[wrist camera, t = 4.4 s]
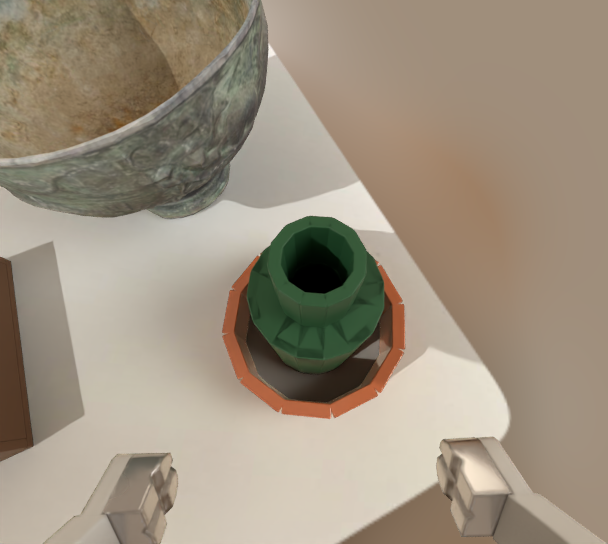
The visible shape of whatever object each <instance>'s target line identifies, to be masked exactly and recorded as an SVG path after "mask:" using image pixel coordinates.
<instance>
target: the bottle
mask: <svg viewBox="0 0 608 544" xmlns="http://www.w3.org/2000/svg"><path fill="white" fill-rule="evenodd" d="M247 301H248V305H249V309H250V313H251V317H252V321H253V323H254V324H255V326H256V327H257V328H258V330H259V331H260V332H261V333H262V335H263V336H264V337H265V339H266V340H267V341H268V342H269V344H270V345H271V346H272V348H273V349H274V350H275V351H276V353H277V354H278V355H279V357H280V358H281V359H282V360H283V362H284V363H285V364H286V365H288V366H290V367H291V368H293V369H295V370H297V371H299V372H302V373H307V374H321V373H325V372H328V371H331V370H333V369H336V368H337V367H338V366H339V365H341V364H342V363H343V362H344V361H345V360H346V359H347V358H348V357H349V356H350V355H351V354H352V353H353V352H354V351H355V350H356V349H358V348H359V347H360V346H361V345H362V344H363V343H364V342H365V341H366V340H367V339H368V338H369V337H370V336H371V335H372V334H373V332H374V330H375V328H376V326H377V324H378V321H379V319H380V317H381V315H382V312H383V310H384V280H383V278H382V275H381V273H380V271H379V269H378V266H377V264H376V262H375V259H374V258H373V257H372V256H371V255H370V254H369V253H368V252H367V251H366V249H365V247H364V245H363V243H362V242H361V240H360V238H359V237H358V235H357V233H356V232H355V231H354V230H353V229H352V228H350V227H349V226H347V225H345V224H343V223H342V222H340V221H338V220H337V219H335V218H332V217H319V216H309V217H308V216H307V217H304V218H302V219H299V220H297V221H295V222H292V223H290V224H287V225H286V226H285V227H284V228H283V229H282V230H281V232H280V233H279V234H278V235H277V236H276V238H275V239H274V240H273V241H272V242H271V245H270V246H269V247H267V248H266V249H265V251H263V252H262V254H261V256H260V257H259V259H258V260H257V262H256V264H255V265H254V267H253V268H252V270H251V272H250V278H249V284H248V290H247Z"/></svg>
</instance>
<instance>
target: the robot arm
mask: <svg viewBox="0 0 608 544" xmlns="http://www.w3.org/2000/svg"><path fill="white" fill-rule="evenodd" d="M439 448H440V450H441V452H442V454H441V455H440V456H439V457H438V458H437V463H436V469H437V476H438V480H439V483H440V486H441V488H442V491H443V493H444V494H445V495H446V496H447V497H448V498H449V499H450V500H451V501H452V505H451V513H452V515H453V518H454V520H455V522H456V525H457V527H458V530H459V532H460V534H461V537H481V536H483V537H484V536H493V539H494V540H495V541H496V542H497V543H498V544H607V543H605V542H604V541H603V540H601V539H600V538H599V537H597V536H596V535H595V534H593V533H592V532H590V531H589V530H588V529H586V528H585V527H584V526H582V525H581V524H580V523H578V522H577V521H576V520H574V519H573V518H571V517H570V516H569V515H567V514H566V513H565V512H563V511H562V510H561V509H559V508H558V507H557V506H555V505H554V504H552V503H551V502H550V501H549V500H547V499H546V498H544V497H543V496H542V495H540V494H539V493H538V494H537V493H536V494H535V493H533V492H532V490H531V489H530V488H529V486H528V485H527V483H526V482H525V480H524V479H523V477H522V476H521V474H520V473H519V471H518V470H517V468H516V467H515V465H514V464H513V462H512V461H511V459H510V458H509V456H508V455H507V453H506V452H505V450H504V449H503V447H502V446H501V444H500V443H499V441H498V440H497V439H496V438H494V437H481V438H475V437H471V438H456V439H443V440H442V441H441V442H440V447H439ZM172 461H173V459H172V456H171V453H142V454H117V455H116V456H115V457H114V458H113V459H112V460H111V462H110V464H109V466H108V467H107V469H106V471H105V473H104V474H103V476H102V478H101V480H100V481H99V483H98V485H97V487H96V488H95V490H94V492H93V494H92V495H91V497H90V499H89V501H88V502H87V504H86V506H85V508H84V509H83V511H82V513H81V515H79V516H74V517H73V518H72V519H70V520H69V521H68V522H67V523H66V524H65V525H64V526H62V527H61V528H60V529H59V530H58V531H57V532H55V533H54V534H53V535H52V536H51V537H50V538H49V539H47V540H46V541H45V542H44V543H43V544H160V543H161V540H162V537H163V534H164V531H165V528H166V525H167V522H166V519H165V516H164V515H165V514H166V513H167V512H168V511H169V510H170V509H171V508H172V507H173V504H174V501H175V497H176V493H177V487H178V476H177V472H176V470H175V469H174V468H172V467H171V464H172Z"/></svg>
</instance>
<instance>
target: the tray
mask: <svg viewBox="0 0 608 544" xmlns="http://www.w3.org/2000/svg"><path fill="white" fill-rule="evenodd" d="M31 447H33V439H32V431H31V423H30V415H29V407H28V399H27V390H26V382H25V374H24V366H23V358H22V350H21V342H20V333H19V325H18V317H17V309H16V301H15V293H14V285H13V277H12V268H11V261H9V260H7V259H4V258H2V257H0V461H2V460H5V459H7V458H9V457H11V456H13V455H15V454H18V453H20V452H22V451H24V450H26V449H29V448H31Z"/></svg>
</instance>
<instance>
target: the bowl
mask: <svg viewBox="0 0 608 544" xmlns="http://www.w3.org/2000/svg"><path fill="white" fill-rule="evenodd" d="M267 28H268V27H267V22H266V17H265V13H264V9H263V5H262V2H261V0H0V186H2V187H4V188H6V189H7V190H8V191H10V192H11V193H12V194H13V195H14V196H16V197H17V198H19V199H20V200H22V201H24V202H26V203H29V204H31V205H34V206H37V207H41V208H45V209H50V210H54V211H60V212H65V213H71V214H77V215H82V216H93V217H118V216H122V215H127V214H131V213H135V212H138V211H141V210H144V209H147V210H149V211H151V212H153V213H155V214H157V215H159V216H161V217H163V218H180V217H184V216H188V215H191V214H194V213H196V212H198V211H200V210H202V209H204V208H206V207H207V206H209V205H210V204H212V203H213V201H214V200H215V199H216V198H217V197H218V196H219V195H220V194H221V193H222V192H223V190H224V189H225V187H226V185H227V182H228V180H229V172H230V164H229V163H230V161H231V160H232V159H233V158H234V156H235V155H236V154H237V152H238V151H239V150H240V149H241V147H242V145H243V143H244V142H245V140H246V138H247V137H248V135H249V133H250V131H251V129H252V127H253V123H254V120H255V117H256V115H257V112H258V109H259V106H260V104H261V100H262V97H263V93H264V89H265V83H266V73H267V61H268V29H267Z"/></svg>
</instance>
